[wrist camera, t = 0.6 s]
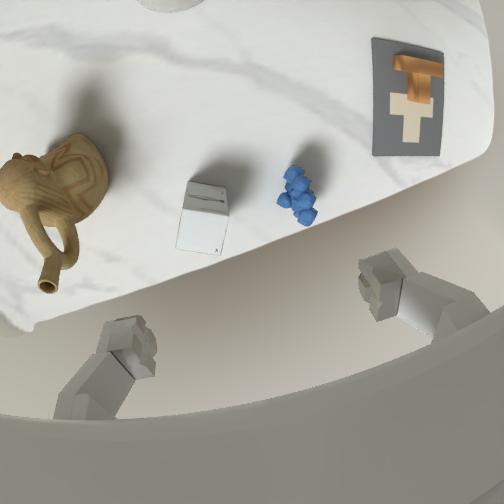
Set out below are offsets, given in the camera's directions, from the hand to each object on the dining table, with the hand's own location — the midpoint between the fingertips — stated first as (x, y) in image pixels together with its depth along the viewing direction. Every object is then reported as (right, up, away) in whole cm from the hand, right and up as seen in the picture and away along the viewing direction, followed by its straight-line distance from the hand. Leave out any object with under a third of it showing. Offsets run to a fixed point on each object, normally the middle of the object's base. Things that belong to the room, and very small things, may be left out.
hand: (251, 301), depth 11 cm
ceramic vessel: (-33, +16, +38) cm, 53 cm away
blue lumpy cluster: (+7, +14, +46) cm, 48 cm away
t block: (+32, +36, +35) cm, 59 cm away
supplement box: (-9, +11, +45) cm, 47 cm away
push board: (+32, +32, +38) cm, 59 cm away
